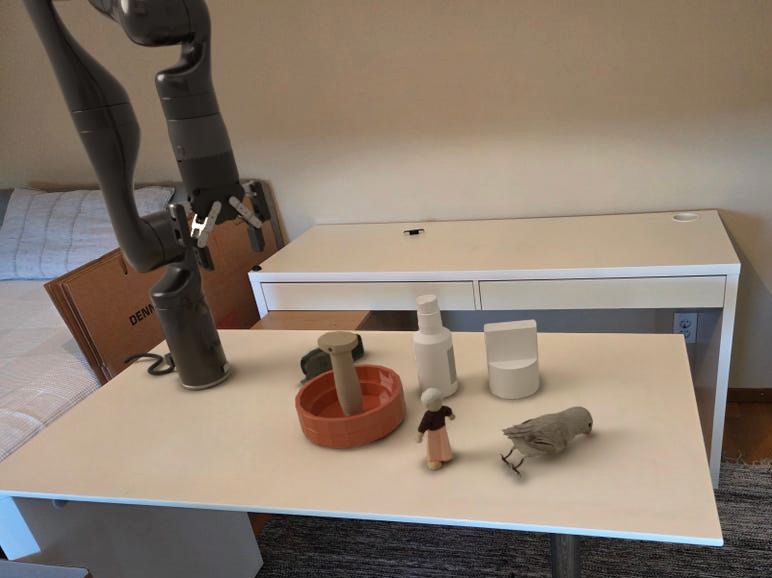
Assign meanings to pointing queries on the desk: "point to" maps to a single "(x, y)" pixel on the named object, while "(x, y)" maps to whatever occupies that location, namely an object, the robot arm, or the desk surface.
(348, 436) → the bowl
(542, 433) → the decorative bird
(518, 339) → the base with upright slab
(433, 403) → the grandmother figurine
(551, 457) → the desk surface
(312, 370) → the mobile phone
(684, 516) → the desk surface
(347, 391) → the handle
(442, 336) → the spray bottle
